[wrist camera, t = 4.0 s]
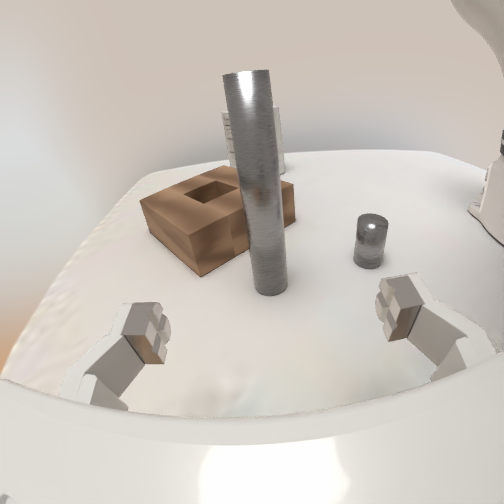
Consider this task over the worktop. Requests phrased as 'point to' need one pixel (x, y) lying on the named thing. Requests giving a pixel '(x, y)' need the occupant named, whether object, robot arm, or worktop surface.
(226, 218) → the collar block
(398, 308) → the robot arm
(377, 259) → the short pin
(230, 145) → the supplement box
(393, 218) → the worktop surface
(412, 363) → the worktop surface
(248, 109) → the long pin
